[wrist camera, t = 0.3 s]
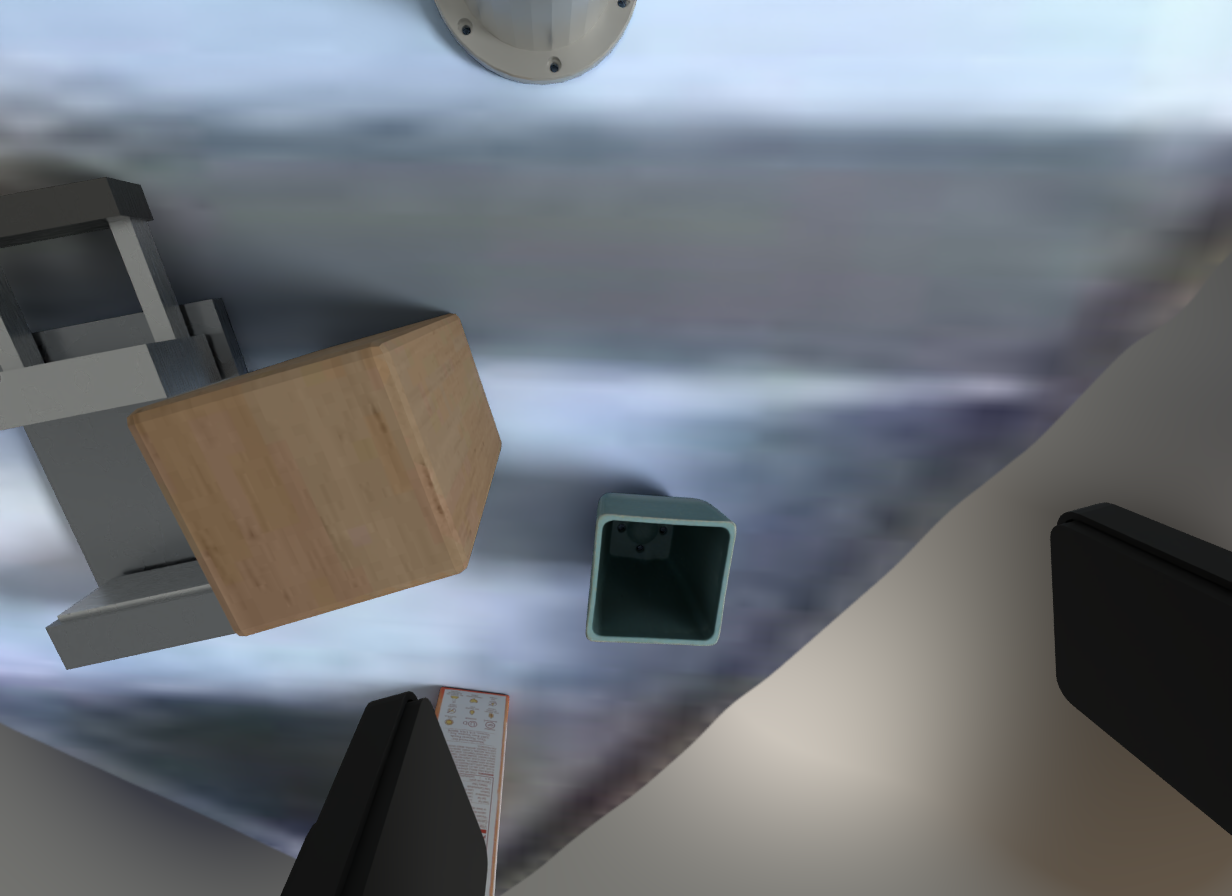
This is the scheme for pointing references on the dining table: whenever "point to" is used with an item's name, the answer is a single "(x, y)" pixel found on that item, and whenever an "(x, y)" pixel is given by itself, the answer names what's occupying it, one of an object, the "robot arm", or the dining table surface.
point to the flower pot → (658, 570)
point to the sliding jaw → (107, 376)
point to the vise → (126, 507)
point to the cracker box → (478, 756)
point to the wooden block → (329, 472)
